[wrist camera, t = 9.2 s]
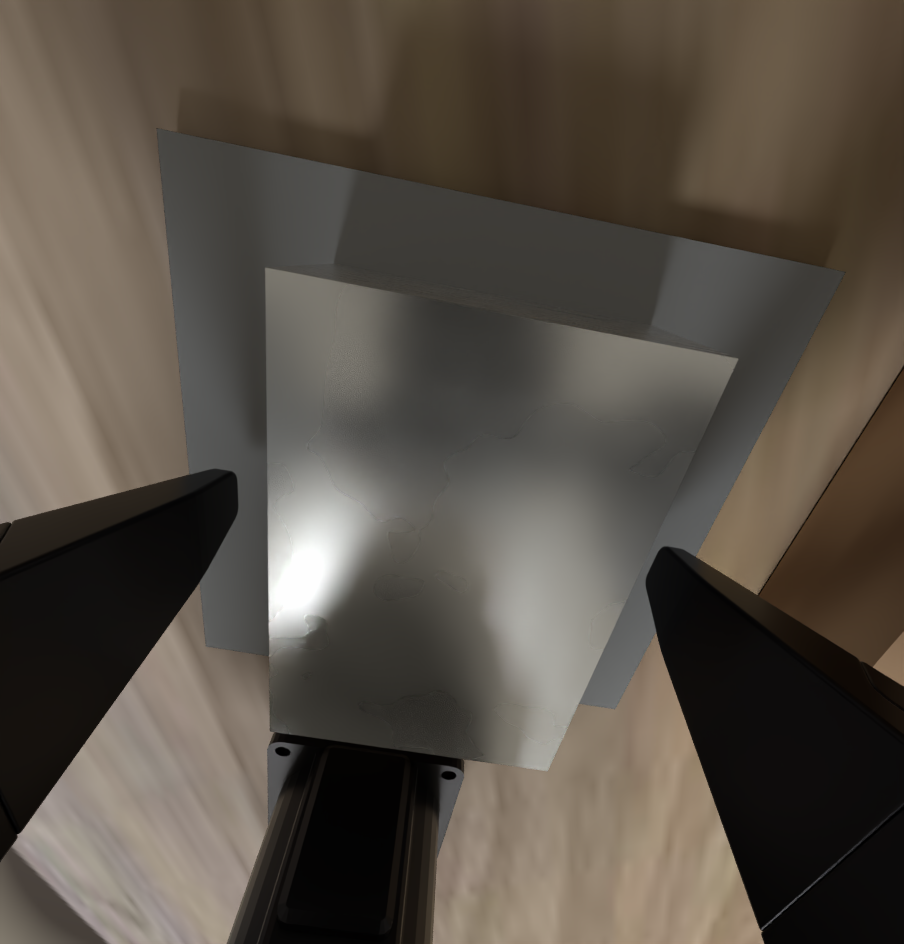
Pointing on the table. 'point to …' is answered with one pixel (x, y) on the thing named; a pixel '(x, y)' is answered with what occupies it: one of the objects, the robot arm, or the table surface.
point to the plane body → (855, 550)
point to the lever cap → (459, 504)
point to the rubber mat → (463, 266)
